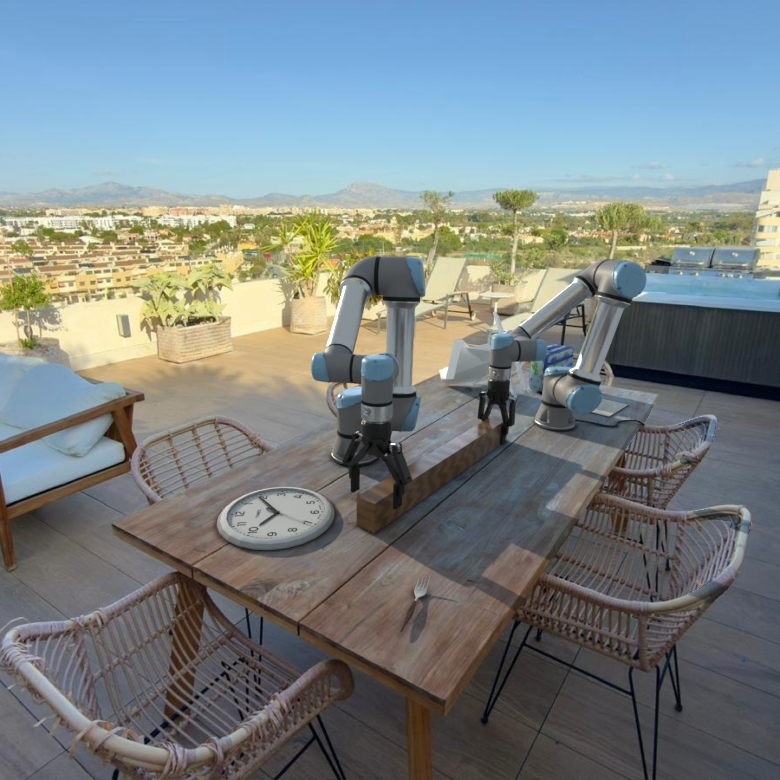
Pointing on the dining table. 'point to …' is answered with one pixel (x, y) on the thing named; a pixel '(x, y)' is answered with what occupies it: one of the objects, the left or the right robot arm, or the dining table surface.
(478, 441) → the post
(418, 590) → the fork
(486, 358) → the white plastic object
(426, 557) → the dining table surface
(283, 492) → the wall clock
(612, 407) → the invitation card
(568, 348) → the lunch box
